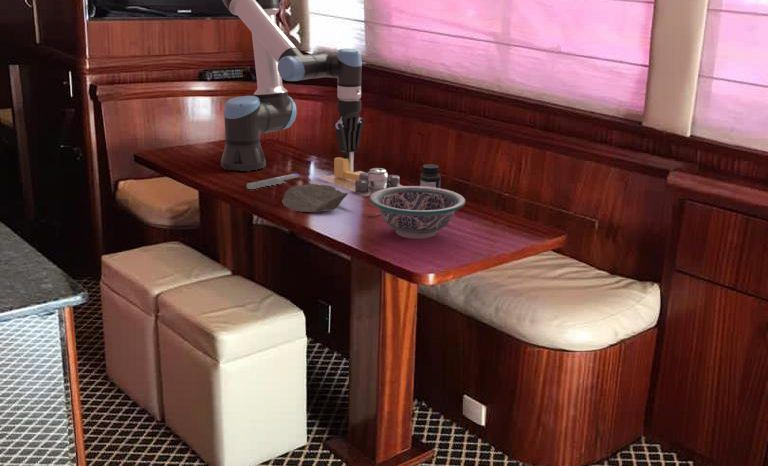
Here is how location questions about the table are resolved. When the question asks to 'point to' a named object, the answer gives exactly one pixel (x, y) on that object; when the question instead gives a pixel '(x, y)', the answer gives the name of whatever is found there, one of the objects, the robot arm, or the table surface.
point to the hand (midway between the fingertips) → (348, 171)
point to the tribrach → (367, 182)
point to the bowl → (417, 209)
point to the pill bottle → (430, 176)
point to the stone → (313, 198)
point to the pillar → (271, 181)
